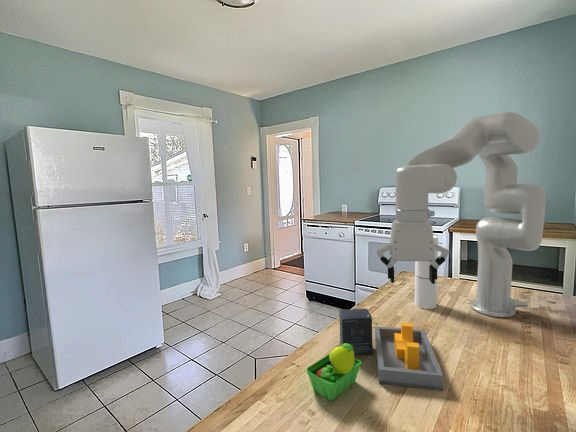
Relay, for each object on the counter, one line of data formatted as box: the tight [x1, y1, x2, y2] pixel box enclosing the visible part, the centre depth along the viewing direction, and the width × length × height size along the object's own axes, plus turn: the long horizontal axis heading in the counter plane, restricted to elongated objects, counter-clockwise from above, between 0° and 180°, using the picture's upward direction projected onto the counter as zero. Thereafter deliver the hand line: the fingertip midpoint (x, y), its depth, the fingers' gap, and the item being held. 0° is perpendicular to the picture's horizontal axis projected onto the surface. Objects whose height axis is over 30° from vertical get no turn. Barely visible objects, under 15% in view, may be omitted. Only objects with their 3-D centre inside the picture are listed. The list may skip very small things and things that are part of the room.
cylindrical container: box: [414, 234, 439, 310], centre depth 109 cm, size 7×7×25 cm
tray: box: [374, 325, 444, 392], centre depth 78 cm, size 13×20×4 cm, turn 167°
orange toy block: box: [394, 322, 420, 370], centre depth 78 cm, size 12×4×6 cm, turn 167°
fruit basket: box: [305, 343, 362, 402], centre depth 69 cm, size 11×9×11 cm
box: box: [339, 308, 374, 356], centre depth 83 cm, size 8×6×11 cm
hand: (411, 281), depth 79 cm, fingers open, 9 cm apart
